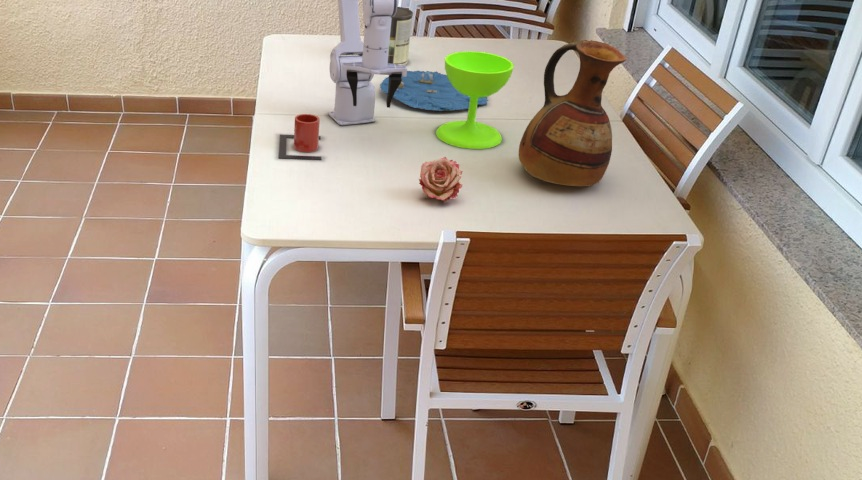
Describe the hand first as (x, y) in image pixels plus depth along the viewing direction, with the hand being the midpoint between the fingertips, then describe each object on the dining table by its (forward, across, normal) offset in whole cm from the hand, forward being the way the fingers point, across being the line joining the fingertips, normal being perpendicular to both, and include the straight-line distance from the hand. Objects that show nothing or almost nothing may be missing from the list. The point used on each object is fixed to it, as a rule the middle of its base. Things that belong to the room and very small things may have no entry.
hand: (371, 105), depth 221 cm
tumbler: (+9, -15, -4) cm, 18 cm away
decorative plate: (+10, +19, +36) cm, 42 cm away
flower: (+10, +13, -28) cm, 33 cm away
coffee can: (+10, +10, +62) cm, 64 cm away
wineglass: (+10, +25, +8) cm, 28 cm away
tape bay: (+9, -16, -4) cm, 19 cm away
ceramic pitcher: (+10, +42, -14) cm, 46 cm away
